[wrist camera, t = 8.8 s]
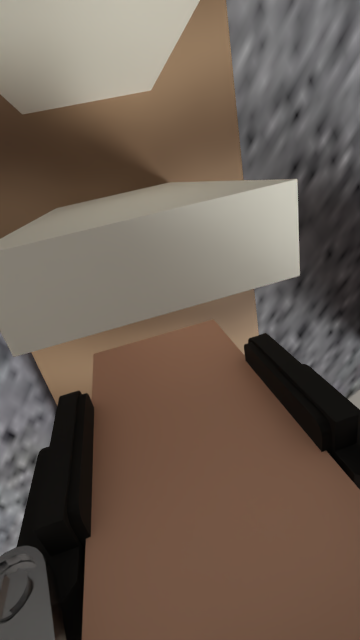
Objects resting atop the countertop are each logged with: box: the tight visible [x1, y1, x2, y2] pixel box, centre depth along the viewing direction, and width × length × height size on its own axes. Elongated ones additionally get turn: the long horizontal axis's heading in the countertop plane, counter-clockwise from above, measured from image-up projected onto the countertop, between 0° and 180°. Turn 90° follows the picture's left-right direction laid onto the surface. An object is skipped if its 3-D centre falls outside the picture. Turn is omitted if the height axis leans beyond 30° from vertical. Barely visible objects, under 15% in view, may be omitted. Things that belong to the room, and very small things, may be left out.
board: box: [0, 0, 259, 406], centre depth 13 cm, size 30×12×1 cm, turn 12°
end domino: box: [82, 319, 360, 640], centre depth 8 cm, size 2×5×10 cm, turn 101°
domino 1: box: [0, 0, 200, 114], centre depth 7 cm, size 2×5×10 cm, turn 102°
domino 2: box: [0, 179, 300, 357], centre depth 9 cm, size 2×5×10 cm, turn 102°
